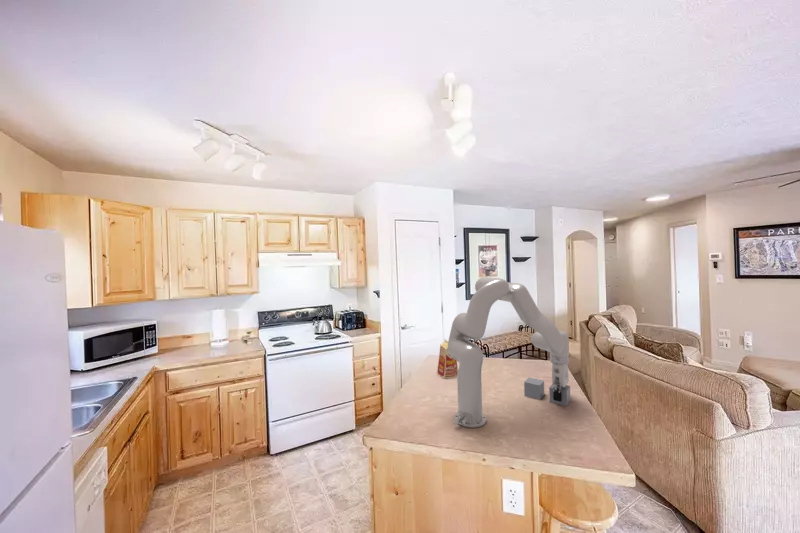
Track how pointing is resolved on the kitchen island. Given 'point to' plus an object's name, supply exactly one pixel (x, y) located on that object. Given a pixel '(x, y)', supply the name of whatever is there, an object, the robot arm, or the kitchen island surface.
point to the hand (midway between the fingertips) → (560, 396)
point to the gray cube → (534, 388)
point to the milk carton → (446, 363)
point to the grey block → (565, 395)
